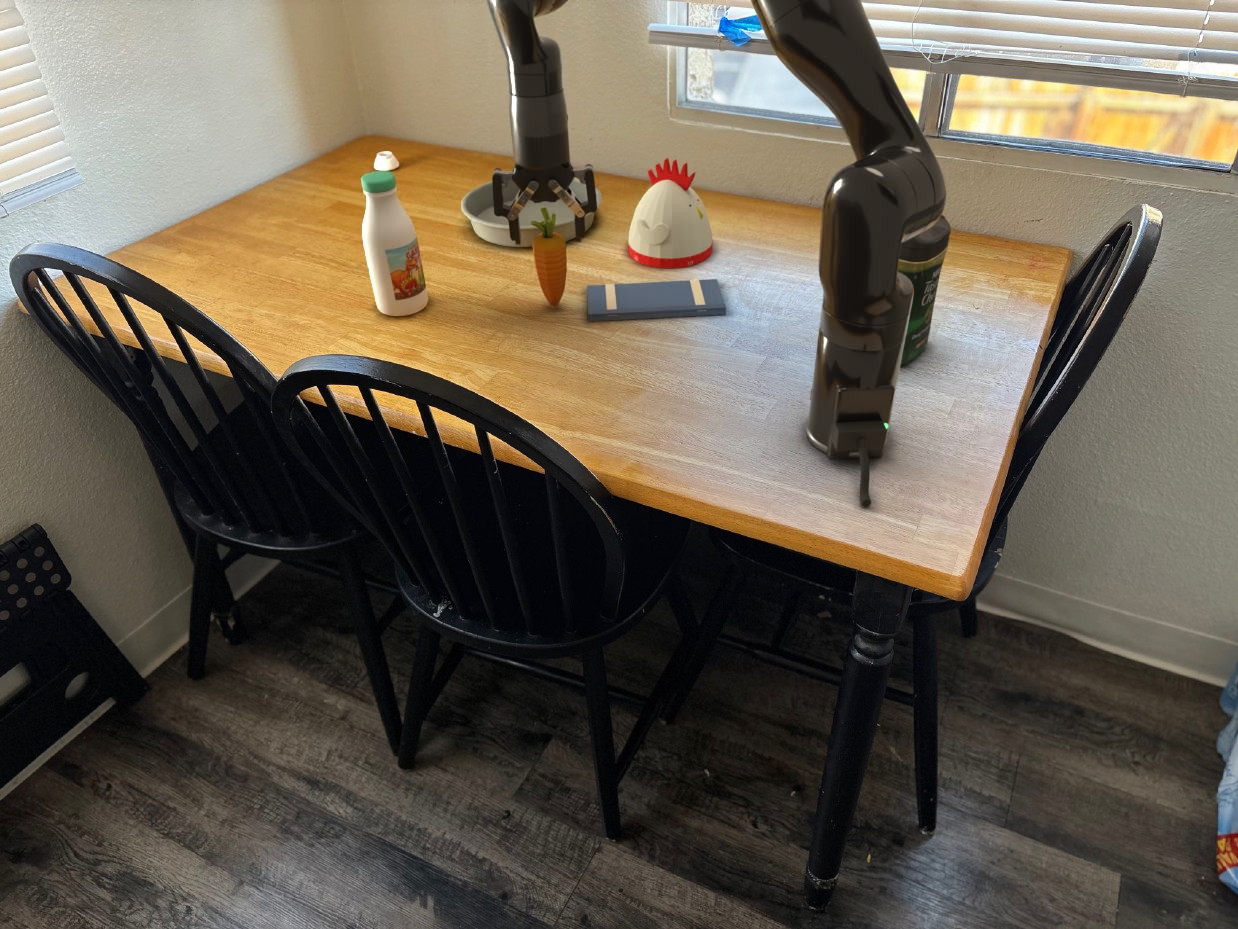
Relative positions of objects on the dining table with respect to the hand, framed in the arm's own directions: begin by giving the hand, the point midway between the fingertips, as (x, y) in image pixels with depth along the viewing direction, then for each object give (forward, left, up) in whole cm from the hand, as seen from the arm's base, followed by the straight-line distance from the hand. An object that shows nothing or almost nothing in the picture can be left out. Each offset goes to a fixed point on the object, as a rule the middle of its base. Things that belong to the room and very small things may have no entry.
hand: (548, 241), depth 128 cm
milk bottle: (+3, +23, -11) cm, 25 cm away
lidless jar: (+64, +35, -11) cm, 74 cm away
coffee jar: (-17, -46, -11) cm, 50 cm away
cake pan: (+32, +4, -11) cm, 34 cm away
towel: (0, -15, -10) cm, 18 cm away
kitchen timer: (+18, -19, -11) cm, 28 cm away
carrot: (0, 0, -11) cm, 11 cm away
